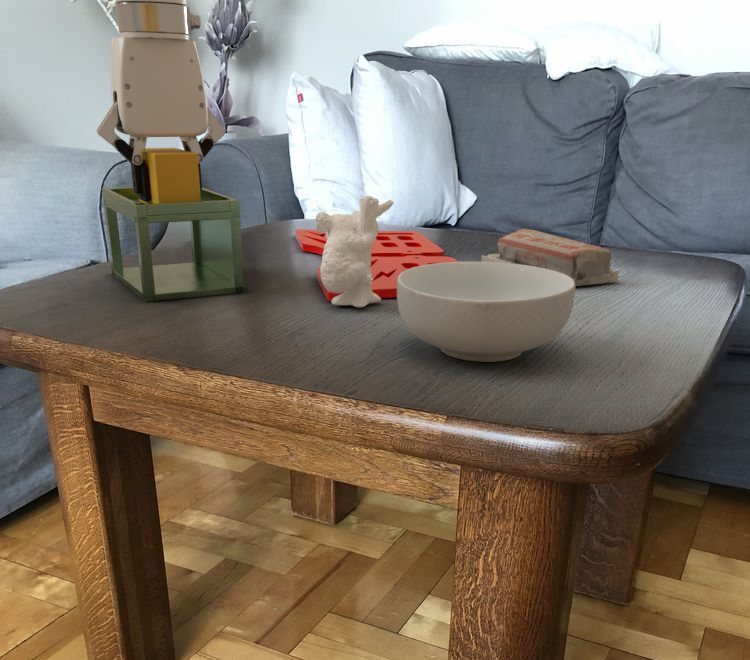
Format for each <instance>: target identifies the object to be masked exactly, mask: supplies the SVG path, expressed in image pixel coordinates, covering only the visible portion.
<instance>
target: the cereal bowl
mask: <svg viewBox="0 0 750 660" xmlns="http://www.w3.org/2000/svg"><path fill="white" fill-rule="evenodd" d="M575 296H576V286H575V282H574V280H573V279H572V278H571V277H569V276H567V275H565V274H562V273H560V272H557V271H553V270H549V269H544V268H539V267H534V266H527V265H519V264H510V263H498V262H482V261H458V262H445V263H435V264H428V265H422V266H418V267H414V268H410V269H408V270H406V271H404V272H402V273H401V274H400V275H399V276H398V278H397V297H396V300H397V307H398V312H399V316H400V318H401V321H402V322H403V324H404V325H405V327H406V328H407V329H408V331H409V332H410V333H411V334H412V335H413V336H415V337H416V338H417V339H418V340H420V341H422V342H424V343H425V344H427V345H430V346H431V347H436V348H438V349H440V351H441V352H442V353H444V354H445V355H447V356H449V357H452V358H454V359H458V360H463V361H467V362H477V363H478V362H479V363H493V362H494V363H496V362H504V361H509V360H513V359H516V358H518V357H519V356H521V355H522V354H523V352H526V351H530V350H533V349H536V348H538V347H541V346H543V345H544V344H547V343H548V342H550V341H551V340H552V339H554V338H556V337H557V335H559V334H560V332H561V331H562V330H563V329H564V328H565V326H566V325H567V323H568V321H569V319H570V318H571V314H572V312H573V308H574V303H575Z"/></svg>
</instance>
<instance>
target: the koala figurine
mask: <svg viewBox="0 0 750 660" xmlns="http://www.w3.org/2000/svg"><path fill="white" fill-rule="evenodd" d="M379 203H380V200H379V199H378V198H377V197H374V196H372V195H365V196H362V197H360V201H359V205H360V206H359V210H357V211H356V212H353V213H351V214H349V213H348V214H347V213H345V214H342V213H334V214H331V215H330V214H328V213H327V212H324V211H320V212H318V213H317V214H316V216H315V230H317V231H318V232H319V233H322V234H323V233H325V232H326V238H327V240H326V244H325V246H324V251H323V255H321V258H322V259H321V263H320V267H319V268H320V270H321V280H322V282H323V285H324V286H325V288H326V289H327V290H328V291H330V292H333V293H342V294H340V295H339V296H337V297H334V298H333V299H332V302H331V304H332V305H333V306H352V307H355V308H364V307H366V306H367V305H369V304H373V303H379V302H381V301H382V298H380V297H379V296H378V295H376V294H375V293H373V292H372V290H371V284H372V283H371V282H372V280H373V279H372V274H371V267H370V266H371V264H370V263H371V245H372V244H373V242H374V241H375V239H376V237H377V234H378V231H380V230H379V228H380V227H379V223H378V220H377V218H378V217H381V216H382V215H383V214H384V213H385V212H387V211H389V210H390V208H391V207H393V205H394V204H395V203H394V201H393V200H392V199H388V200H386V201H384V202H383V203H381V204H379ZM343 292H344V293H343Z"/></svg>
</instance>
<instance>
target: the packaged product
mask: <svg viewBox="0 0 750 660" xmlns="http://www.w3.org/2000/svg"><path fill="white" fill-rule="evenodd" d="M497 248H498V253H491V254H487V255H482V254H481V262H498V263H510V264H519V265H527V266H534V267H539V268H544V269H549V270H553V271H557V272H560V273H562V274H565V275H567V276H569V277H571V278H572V279H573V280H574V282H575V287H581V286H591V285H600V284H609V283H618V280H619V270H613V269H612V268H611V259H612V256H611V255H612V251H611V250H610V249H607V248H606V247H601V246H599V245H593V244H590V243H586V242H582V241H579V240H574V239H570V238H566V237H562V236H558V235H554V234H551V233H546V232H542V231H539V230H536V229H535V230H534V229H528V228H521V229H518V230H516V231H514V232H511V233H509V234H506V235H504V236H502V237H499V238H498V239H497Z"/></svg>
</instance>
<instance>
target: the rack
mask: <svg viewBox="0 0 750 660" xmlns="http://www.w3.org/2000/svg"><path fill="white" fill-rule="evenodd" d="M101 193H102V200H103V201H102V202H103V208H104V209H103V210H104V216H105V217H104V218H105V226H106V233H107V240H108V242H107V243H108V250H109V259H110V266H111V274H112V276H113V277H114V278H116V279H117V280H118V281H119V282H121V283H122V284H123V285H124V286H125V287H127V288H128V289H129V290H131V291H132V292H133V293H134V294H135V295H137V296H138V297H139V298H141V300H143V301H144V302H146V303H151V302H161V301H171V300H172V301H173V300H180V299H191V298H201V297H211V296H220V295H221V296H222V295H231V294H242V293H243V294H244V293H245V286H244V266H243V265H244V263H243V244H242V243H243V242H242V227H241V226H242V225H241V224H242V223H241V204H240V200H239V199H236V198H234V197H231V196H228V195H224V194H222V193H219V192H216V191H213V190H210V189H208V188H204V187H202V190H201V191H200V197H201V201H199V202H177V203H154V204H145V203H143V202H141V201H139V197H138V194H135V192H134V189H133V186H131V187H102V188H101ZM118 214H119V215H121V216H122V217H124V218H126V219H129V220H130V221H132V222H133V223H134V226H135V227H134V228H135V235H136V244H137V254H138V264H139V266H131V267H124V264H123V256H122V255H123V254H122V248H121V247H122V246H121V240H120V230H119V229H120V228H119V222H118ZM179 222H181V223H182V222H189V232H190V245H191V246H190V247H191V258H192V260H191V261H192V262H182V263H180V262H179V263H168V264H155V265H153V258H152V257H153V256H152V248H151V247H152V246H151V236H150V227H149V224H161V223H163V224H164V223H179Z"/></svg>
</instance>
